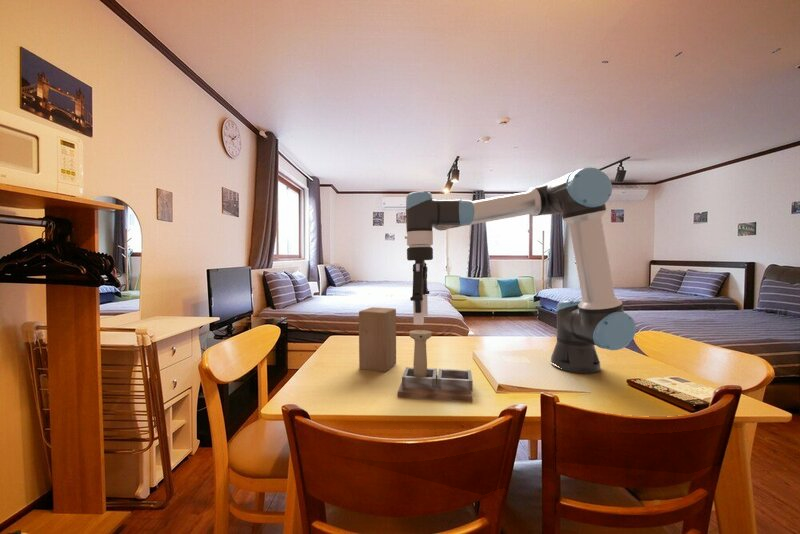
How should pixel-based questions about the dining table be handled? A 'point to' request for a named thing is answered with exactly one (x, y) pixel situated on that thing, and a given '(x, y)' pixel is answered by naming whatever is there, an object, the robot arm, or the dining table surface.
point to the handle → (420, 351)
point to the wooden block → (377, 339)
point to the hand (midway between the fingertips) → (421, 319)
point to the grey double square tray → (437, 385)
